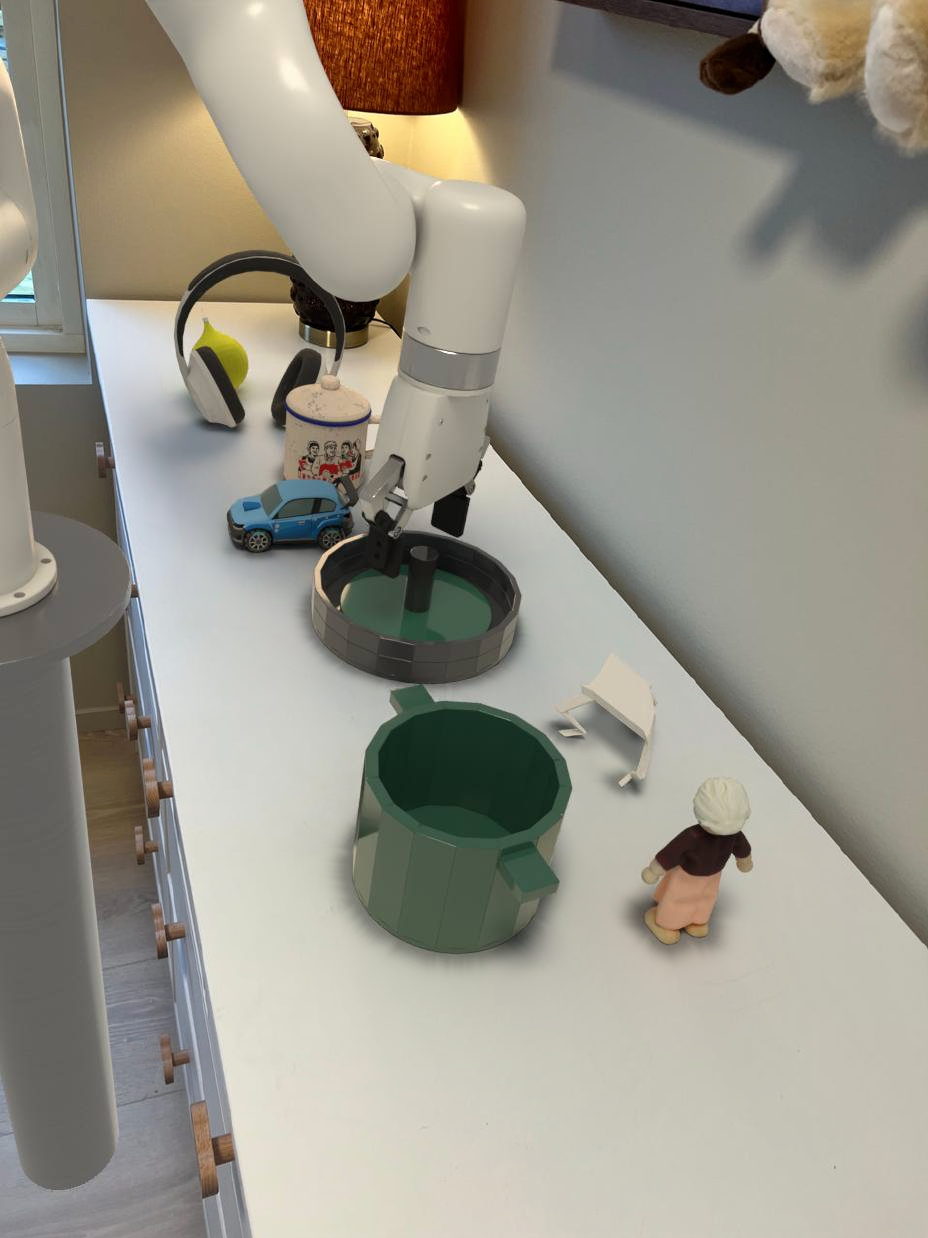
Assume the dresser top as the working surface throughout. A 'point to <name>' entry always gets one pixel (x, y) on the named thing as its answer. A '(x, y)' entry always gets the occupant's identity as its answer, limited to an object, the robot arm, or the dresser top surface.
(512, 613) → the pan
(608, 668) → the origami figure
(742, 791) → the grandmother figurine
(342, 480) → the toy car
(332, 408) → the teacup with lid
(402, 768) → the pot
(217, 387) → the headphones
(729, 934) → the dresser top surface
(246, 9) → the robot arm
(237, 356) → the yellow-green teardrop shape
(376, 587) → the lid
